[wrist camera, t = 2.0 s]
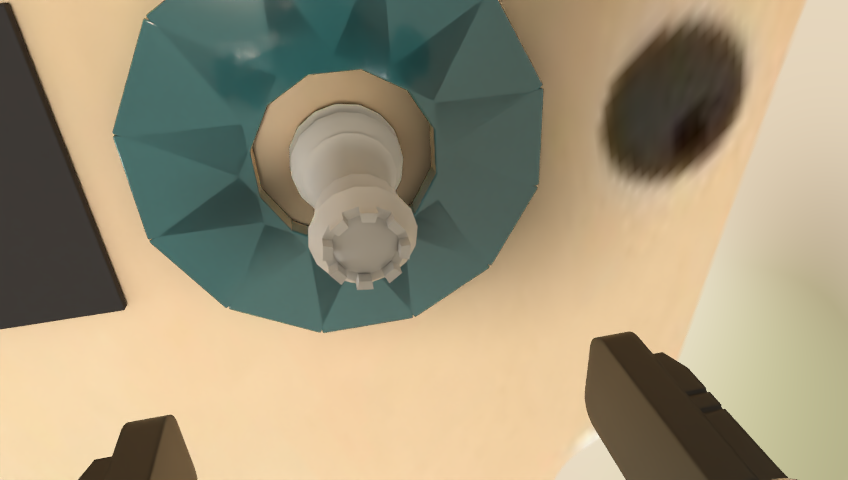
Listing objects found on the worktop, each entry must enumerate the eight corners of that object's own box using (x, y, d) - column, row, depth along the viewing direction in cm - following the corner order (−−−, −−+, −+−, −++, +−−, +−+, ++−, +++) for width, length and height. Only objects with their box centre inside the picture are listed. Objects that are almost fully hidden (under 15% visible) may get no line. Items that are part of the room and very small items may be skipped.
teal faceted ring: (57, -55, 18) (46, -54, 17) (542, -86, 20) (553, -87, 19) (191, 342, 26) (187, 356, 25) (526, 286, 28) (533, 298, 27)
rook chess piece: (384, 212, 24) (419, 325, 18) (279, 194, 23) (273, 307, 16) (412, 114, 22) (464, 196, 16) (299, 87, 21) (302, 164, 14)
